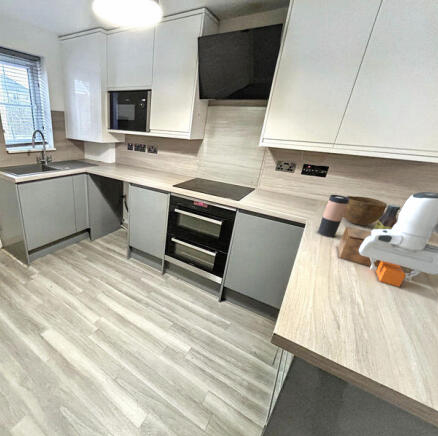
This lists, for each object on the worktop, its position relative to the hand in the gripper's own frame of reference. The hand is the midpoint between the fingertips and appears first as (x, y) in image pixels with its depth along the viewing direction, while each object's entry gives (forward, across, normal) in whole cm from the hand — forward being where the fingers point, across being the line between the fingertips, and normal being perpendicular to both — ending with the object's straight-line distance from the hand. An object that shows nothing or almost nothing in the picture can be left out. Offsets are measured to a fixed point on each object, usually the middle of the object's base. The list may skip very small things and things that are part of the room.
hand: (388, 274), depth 84 cm
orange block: (+2, 0, 0) cm, 2 cm away
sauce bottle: (+2, -2, -38) cm, 38 cm away
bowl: (+2, +3, -69) cm, 69 cm away
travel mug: (+2, +18, -35) cm, 39 cm away
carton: (+2, +5, -14) cm, 15 cm away
